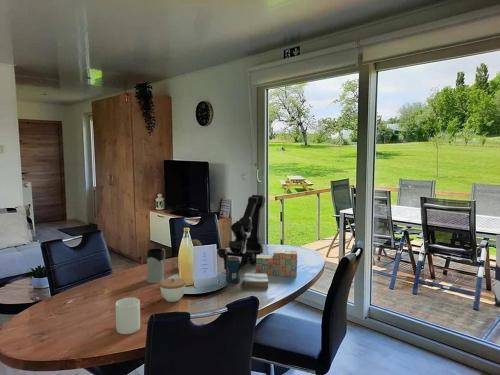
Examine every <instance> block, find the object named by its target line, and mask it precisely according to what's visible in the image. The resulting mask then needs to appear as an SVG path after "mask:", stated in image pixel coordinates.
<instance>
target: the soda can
mask: <svg viewBox="0 0 500 375" xmlns="http://www.w3.org/2000/svg"><path fill="white" fill-rule="evenodd" d="M240 262H241V260H240V258H239V257H237V256H228V258H227V261H226V270H225V281H226V283H227V282H228V283H229V284H228V283H227V284H228V285H237V284H239V282H240V281H241V270H240V271H238V268H239V265H240Z"/></svg>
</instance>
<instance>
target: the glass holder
mask: <svg viewBox="0 0 500 375" xmlns="http://www.w3.org/2000/svg"><path fill="white" fill-rule="evenodd" d="M146 252H147V254H146V256H147V258H146V269H147V270H146V273H147V274H146V275H147V276H146V282H147V283H149V284H158V283H159V284H160V282H161V281H162V280H165V277H164V264H165V259H166V250H165V248H150V249H148V250H146Z"/></svg>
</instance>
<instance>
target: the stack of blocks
mask: <svg viewBox="0 0 500 375" xmlns="http://www.w3.org/2000/svg"><path fill="white" fill-rule="evenodd" d="M297 271H298V251H297V250H291V249H290V250H288V249H273V255H270V254H260V255H257V257H256V264H255V273H267V276H272V277H275V276H276V277H297V275H298V274H297V273H298V272H297Z"/></svg>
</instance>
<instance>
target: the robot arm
mask: <svg viewBox="0 0 500 375" xmlns="http://www.w3.org/2000/svg"><path fill="white" fill-rule="evenodd" d="M265 203H266V197H265V196H264V195H263V194H252V195H251V196H248V199H247V204H246V207H245V210H244V214H243V215H242V217H241V218H239V220H236V222H234V223H233V224H231V226H230V230H231V232H232V234H233V236H234V237H235V239H234V240H229V242H228V248H229V250H230V251H228V250H227V248H223V247H220V248H218V249H217V252H216V253H217V254H218V256H219V258H220V259H223V263H224V265H223V266H224V267H223V268H224V270H225V271H226V261H227V258H229V257H237V258H239V257H240V258H241V260H240V265H239V268H238V271H240V272H241V270H242V269H243V268H244V267H245V266H246V265H247V264H251V265H256V257H257V255H262V254H263V253H264V246H263V245H262V240H261V238H260V235H259V234H260V224H261V223H260V222H261V213H262V212H261V211H262V210H263V208H264V206H265ZM248 233H250V235H249V236H248ZM244 250H245V251H244Z"/></svg>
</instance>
